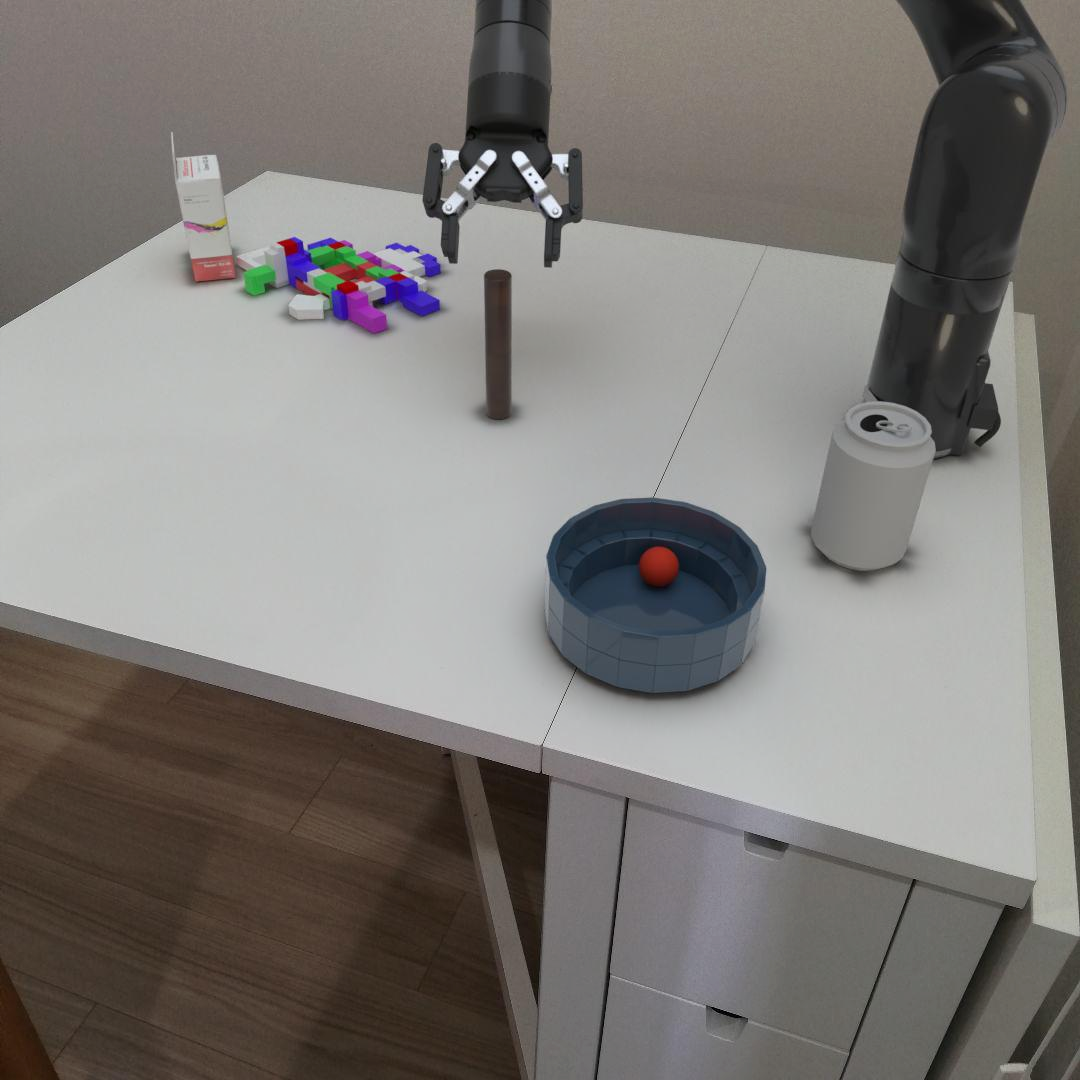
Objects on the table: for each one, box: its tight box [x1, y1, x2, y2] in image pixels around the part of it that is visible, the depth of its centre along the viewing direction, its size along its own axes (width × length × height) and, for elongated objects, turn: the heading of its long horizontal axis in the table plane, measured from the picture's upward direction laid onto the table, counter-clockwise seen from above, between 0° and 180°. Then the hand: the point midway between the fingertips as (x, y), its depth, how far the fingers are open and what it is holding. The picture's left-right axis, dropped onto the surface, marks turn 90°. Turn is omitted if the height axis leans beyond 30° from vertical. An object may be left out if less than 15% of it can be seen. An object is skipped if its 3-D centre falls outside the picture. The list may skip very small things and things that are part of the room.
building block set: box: [235, 236, 442, 334], centre depth 121 cm, size 25×20×4 cm
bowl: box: [544, 496, 767, 694], centre depth 76 cm, size 15×15×6 cm
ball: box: [639, 547, 679, 587], centre depth 79 cm, size 3×3×3 cm
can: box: [810, 401, 936, 572], centre depth 81 cm, size 8×8×12 cm
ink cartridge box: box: [170, 131, 237, 282], centre depth 121 cm, size 9×5×15 cm, turn 17°
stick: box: [483, 268, 513, 421], centre depth 96 cm, size 2×2×14 cm
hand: (500, 262), depth 94 cm, fingers open, 8 cm apart
